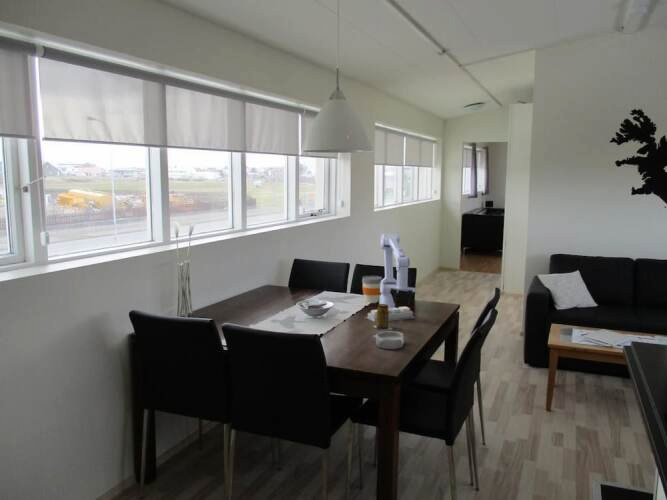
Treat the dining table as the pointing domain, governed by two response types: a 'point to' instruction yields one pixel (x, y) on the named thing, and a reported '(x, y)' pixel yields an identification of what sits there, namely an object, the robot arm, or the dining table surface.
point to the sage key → (374, 312)
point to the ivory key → (404, 309)
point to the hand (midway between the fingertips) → (401, 303)
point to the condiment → (382, 317)
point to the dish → (389, 339)
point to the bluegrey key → (395, 310)
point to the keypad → (393, 316)
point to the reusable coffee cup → (371, 288)
